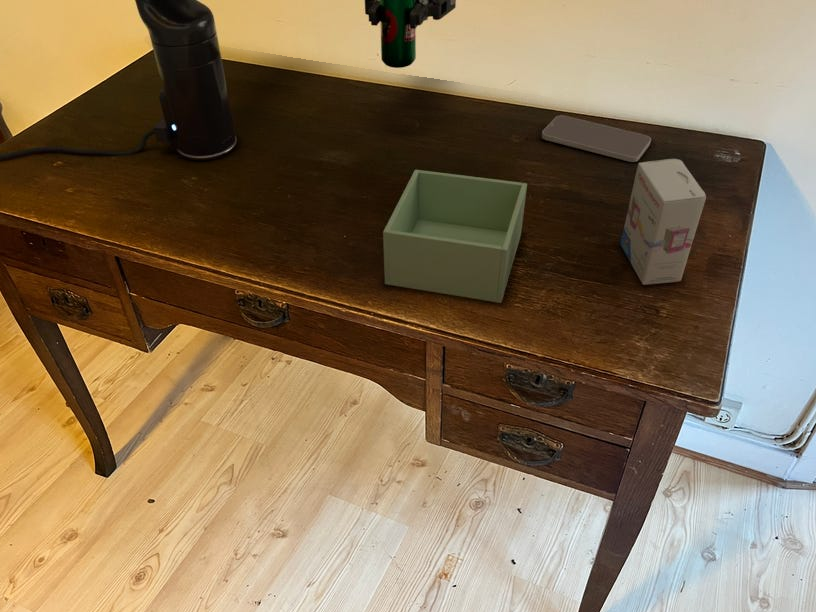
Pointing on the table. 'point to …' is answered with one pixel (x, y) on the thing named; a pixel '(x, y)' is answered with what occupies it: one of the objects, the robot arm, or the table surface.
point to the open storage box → (454, 235)
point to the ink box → (662, 220)
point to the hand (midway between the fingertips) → (393, 19)
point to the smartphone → (597, 138)
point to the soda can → (397, 33)
